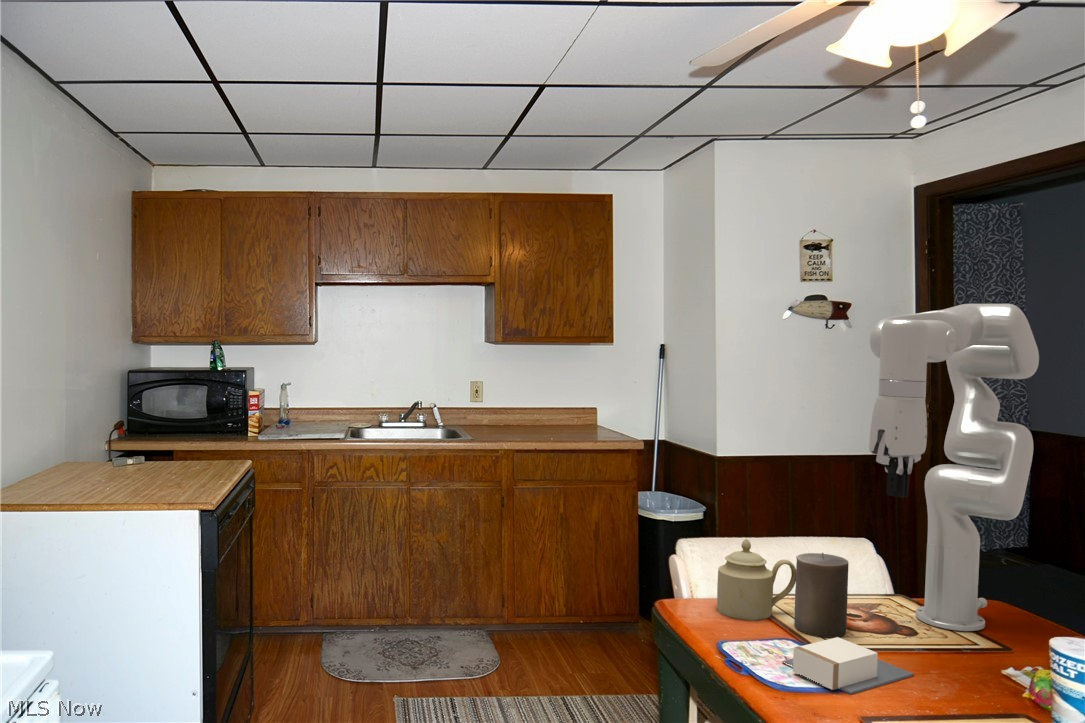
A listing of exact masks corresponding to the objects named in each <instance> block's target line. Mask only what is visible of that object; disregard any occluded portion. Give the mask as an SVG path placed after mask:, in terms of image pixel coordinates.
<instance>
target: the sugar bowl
mask: <svg viewBox="0 0 1085 723" xmlns="http://www.w3.org/2000/svg"><path fill="white" fill-rule="evenodd" d="M751 548H752V544H751V542H750V540H749V539H748V538H745V539H743V541H742V543H741V549H742V550H738V551H734V552H731V553H730V554H728V555H726V556H725V557H724V559H725V560H726V562H725V564H722V565H721V566H719V567H718V570H717V582H716V583H717V584H716V585H717V587H716V588H717V589H716V590H717V593H716V594H717V595H716V596H717V597H716V609H717V611H718V612H719V613H720V614H722V615H724V616H726V617H729V618H732V619H736V620H742V621H760V620H767V619H769V618H770V617H771V616H772V614H773V607H774V606H775V605H776V604H777V603H779V602H780V601H782V600H783V599H784V598H785V597H786V596H788V595H789V594H790V593H791V592H792V590H793V588H794V587H795V586H796V565H795V564H794V563H793V562H792V561H790V560H788V559H780V560H778V561H776V563H775V564H774V565H773V567H772V570H770V569H769V568H767V567H766V564H767V560H766V559H765V558H764V557H763V556H761V555H760V554H758V553H757V552H753V551H750V550H751ZM783 565H788V567H789V568H790V571H791V575H790V580H789V582H788V584H787V585H786V586H785V588H784V589H783V590H782V591H781V592H779V593H778V594H776V595H775V596H774V584H775V581H776V577H777V574H778V572H779V569H780V568H781V567H782V566H783Z"/></svg>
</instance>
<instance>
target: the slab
mask: <svg viewBox="0 0 1085 723" xmlns="http://www.w3.org/2000/svg"><path fill="white" fill-rule="evenodd" d="M792 654H793V657H792V659H793V668H792V672H793V673H795V674H797V675H799V674H800V675H799V676H801V675H803V676H805V677H807V678H806V679H808V678H809V679H808V680H810V679H811V680H810V681H812V680H813V681H812V682H814V681H815V683H816V682H817V683H816V684H818V683H820V684H819V685H821V684H822V685H821V686H822V687H825V688H827V689H830V690H831V691H834V690H839V689H838V688H840V687H844V686H847V685H850V684H854V683H857V682H861V681H864V680H868V679H871V678H874V677H877V659H879V658H878V652H876V651H874V650H871V649H869V648H866V647H864V646H861V645H859V644H857V643H854V642H851V641H849V640H846V639H844V638H841V637H840V636H838V637H831V638H829V639H824V640H820V641H817V642H812V643H809V644H808V643H807V644H805V645H800V646H799V645H798V646H794V647H793V653H792ZM803 676H802V677H803ZM805 677H804V678H805Z"/></svg>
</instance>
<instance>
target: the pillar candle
mask: <svg viewBox="0 0 1085 723" xmlns="http://www.w3.org/2000/svg"><path fill="white" fill-rule="evenodd" d="M795 558H796V565H795V568H796V582H795V589H794V592H795V593H794V618H793V619H794V621H793V622H794V628H795V629H796V630H798V631H800V632H802V633H804V634H807V633H808V635H812V636H814V635H815V637H821V638H836V637H843V636H845V635H846V633H847V626H848V624H847V622H848V598H849V597H848V595H849V594H848V592H849V591H848V588H849V587H848V586H849V585H848V584H849V560H848V559H846V558H844V557H841V556H838V555H834V554H829V553H824V552H821V553H819V552H815V553H814V552H808V553H807V552H806V553H800V554H798V555H796V556H795Z"/></svg>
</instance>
